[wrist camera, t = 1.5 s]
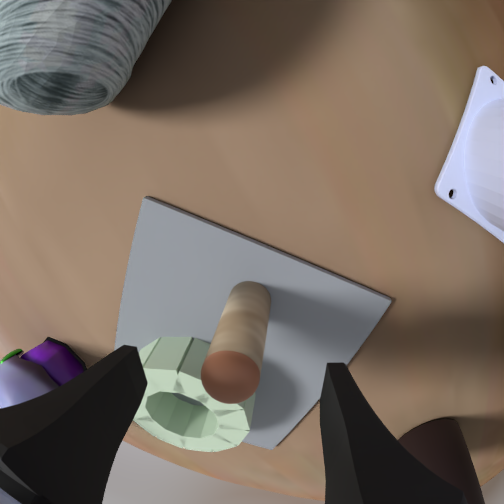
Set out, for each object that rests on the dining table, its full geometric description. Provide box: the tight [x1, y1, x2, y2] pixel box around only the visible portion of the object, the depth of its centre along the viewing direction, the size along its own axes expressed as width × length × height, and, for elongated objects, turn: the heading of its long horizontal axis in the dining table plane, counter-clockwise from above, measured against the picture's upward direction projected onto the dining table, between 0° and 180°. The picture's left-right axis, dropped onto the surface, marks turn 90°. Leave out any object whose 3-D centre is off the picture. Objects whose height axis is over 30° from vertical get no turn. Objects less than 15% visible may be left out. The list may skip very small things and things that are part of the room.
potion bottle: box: [0, 337, 87, 408], centre depth 16 cm, size 9×9×12 cm
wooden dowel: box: [201, 281, 271, 404], centre depth 13 cm, size 2×2×7 cm
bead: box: [133, 337, 256, 452], centre depth 18 cm, size 8×8×3 cm
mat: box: [114, 196, 392, 450], centre depth 18 cm, size 14×16×1 cm
